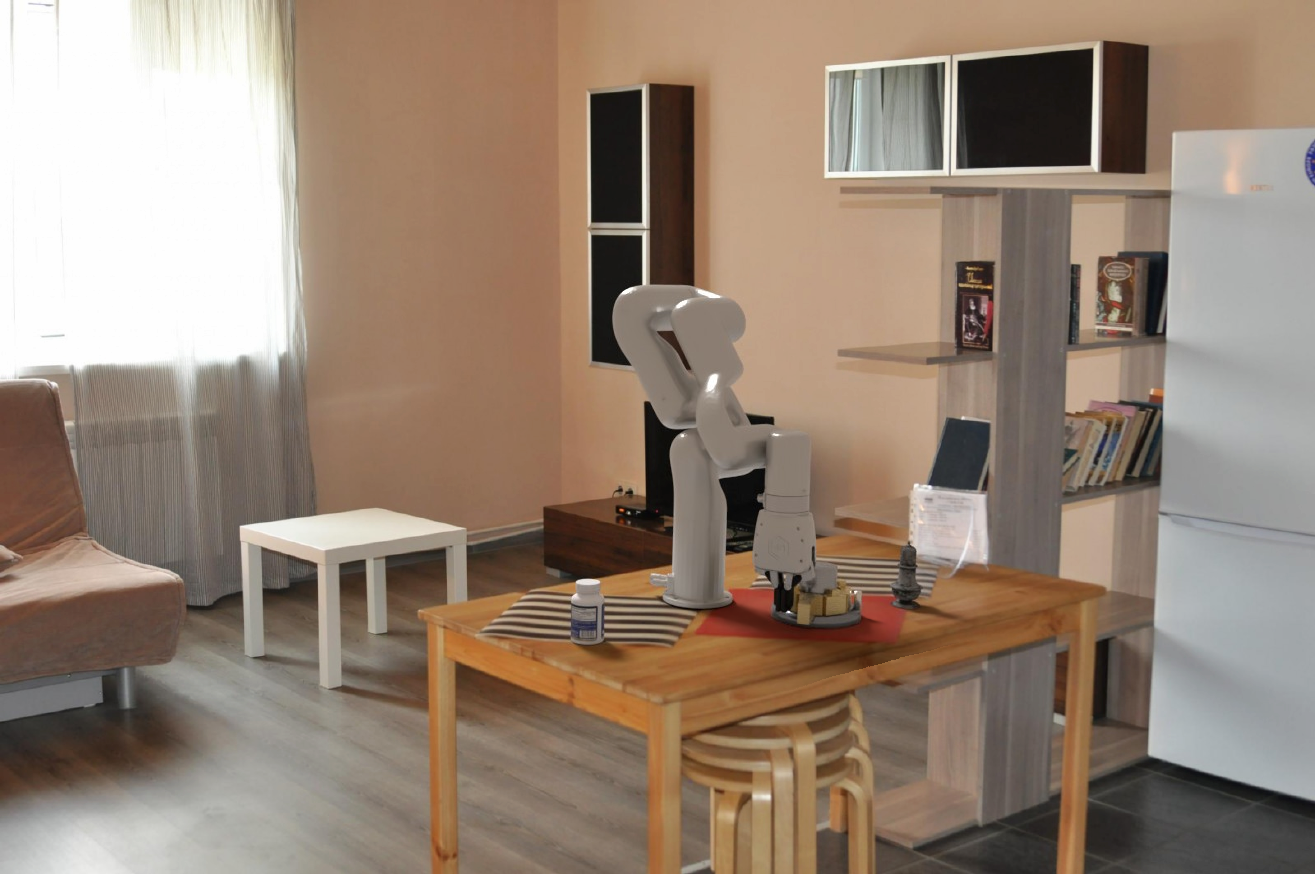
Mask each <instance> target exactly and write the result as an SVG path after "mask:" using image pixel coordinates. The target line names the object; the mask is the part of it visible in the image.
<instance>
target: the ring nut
mask: <svg viewBox="0 0 1315 874" xmlns="http://www.w3.org/2000/svg"><path fill="white" fill-rule="evenodd" d="M852 590H853V588H851V587H849V586H847V580H845V579H842V578H837V588H830V589H827V594H824V595H821V594H811V593H803V592H800V586H799V585H797V586H796V587H794V604H793V607H791V611H793V612H798V617H797V623H798V624H807V625H809V624H810V623H811V621H812V620H813V619H814V617H815V616H816V615H820V616H822V615H825V616H828V615H835V614H843V613H845V612H848V611H849V609H850V608H851V603H852V595H853V594H852V593H853V591H852Z"/></svg>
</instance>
